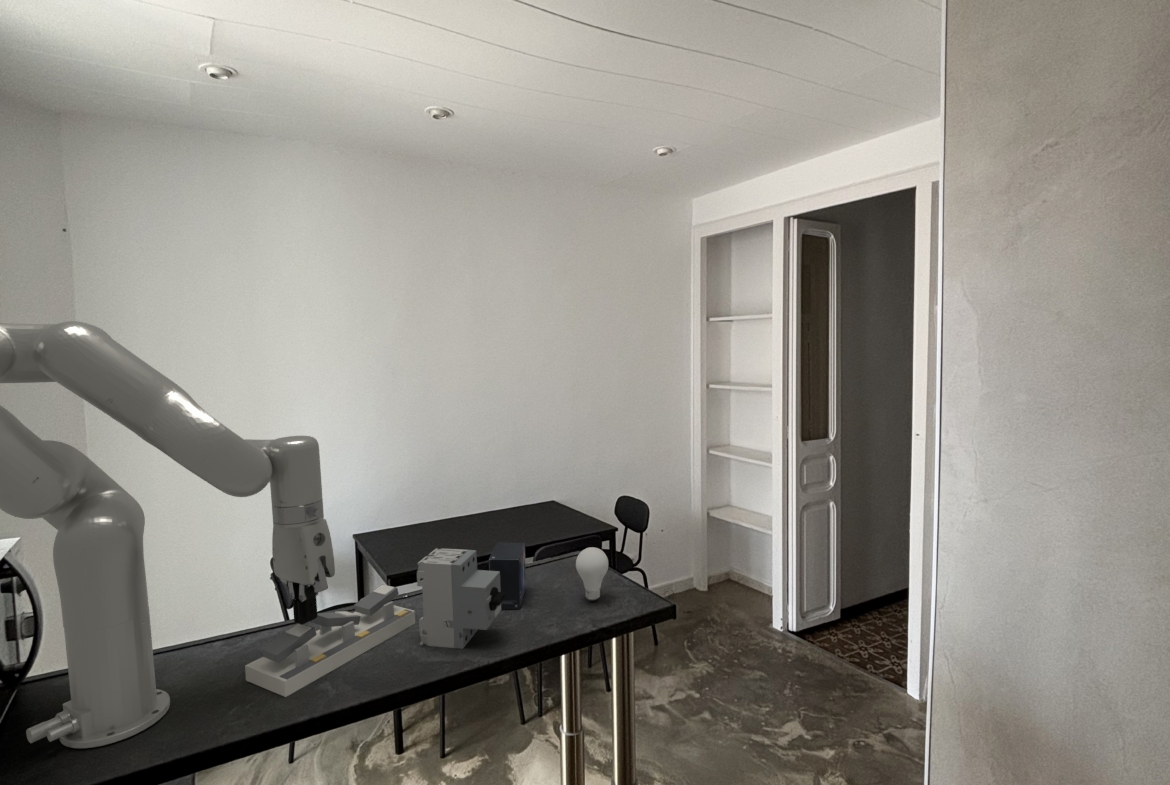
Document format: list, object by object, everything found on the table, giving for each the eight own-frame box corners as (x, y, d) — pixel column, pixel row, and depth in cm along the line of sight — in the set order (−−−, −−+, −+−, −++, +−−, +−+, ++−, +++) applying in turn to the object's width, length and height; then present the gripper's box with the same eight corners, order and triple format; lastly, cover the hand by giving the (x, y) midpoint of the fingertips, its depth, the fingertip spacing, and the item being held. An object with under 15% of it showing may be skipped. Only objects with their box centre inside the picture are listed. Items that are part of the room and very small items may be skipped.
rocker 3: (370, 616, 110) (368, 608, 110) (355, 611, 112) (353, 604, 112) (398, 594, 116) (397, 586, 116) (383, 590, 118) (382, 583, 118)
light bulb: (579, 593, 128) (578, 542, 127) (610, 594, 127) (609, 543, 126) (574, 607, 121) (573, 553, 120) (607, 608, 120) (606, 554, 120)
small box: (521, 610, 121) (520, 558, 120) (488, 610, 121) (487, 559, 120) (527, 588, 131) (525, 541, 130) (497, 589, 131) (495, 541, 130)
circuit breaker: (496, 651, 105) (493, 566, 103) (420, 645, 108) (416, 562, 106) (510, 631, 112) (508, 551, 111) (438, 625, 115) (435, 548, 114)
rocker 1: (278, 662, 95) (276, 654, 94) (263, 656, 96) (260, 648, 96) (316, 634, 100) (314, 626, 100) (301, 629, 102) (298, 621, 102)
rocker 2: (326, 627, 102) (328, 617, 102) (310, 622, 104) (313, 612, 104) (358, 624, 108) (360, 615, 108) (343, 619, 110) (345, 610, 110)
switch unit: (285, 697, 92) (283, 663, 92) (246, 680, 97) (243, 648, 97) (415, 623, 116) (414, 596, 115) (378, 613, 121) (376, 587, 120)
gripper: (348, 511, 99) (355, 620, 100) (290, 501, 106) (297, 603, 108) (307, 524, 92) (316, 640, 94) (248, 513, 100) (256, 620, 101)
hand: (306, 620), depth 101 cm, fingers closed
